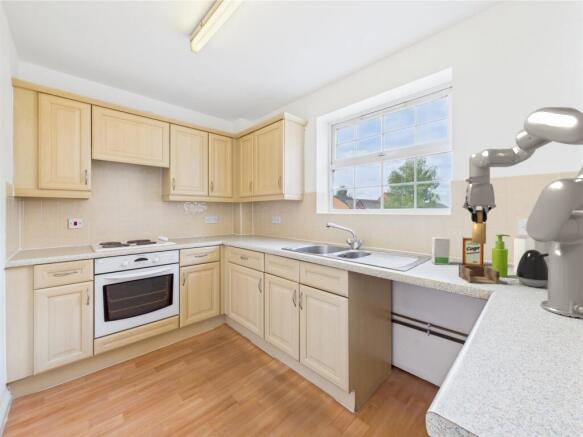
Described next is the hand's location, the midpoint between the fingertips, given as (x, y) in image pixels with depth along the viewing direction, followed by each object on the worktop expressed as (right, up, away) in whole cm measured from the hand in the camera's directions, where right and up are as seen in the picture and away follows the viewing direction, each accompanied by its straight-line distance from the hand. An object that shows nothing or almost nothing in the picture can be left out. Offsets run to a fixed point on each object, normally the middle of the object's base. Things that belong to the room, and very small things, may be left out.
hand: (479, 221), depth 116 cm
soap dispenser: (+16, -26, +8) cm, 32 cm away
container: (+34, -26, +10) cm, 44 cm away
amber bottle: (0, -10, 0) cm, 10 cm away
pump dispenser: (+17, -27, -8) cm, 33 cm away
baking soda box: (+20, -26, +33) cm, 46 cm away
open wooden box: (0, -27, +1) cm, 27 cm away
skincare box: (+4, -26, +37) cm, 45 cm away
